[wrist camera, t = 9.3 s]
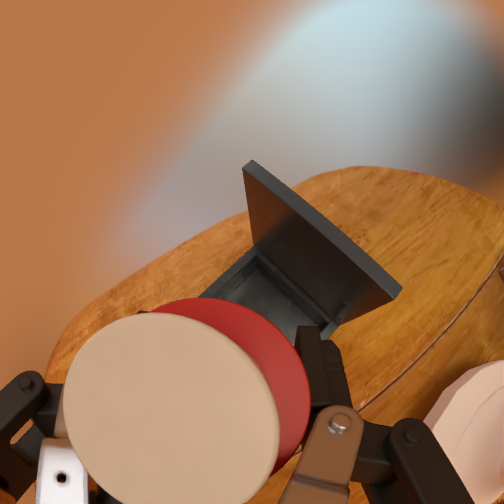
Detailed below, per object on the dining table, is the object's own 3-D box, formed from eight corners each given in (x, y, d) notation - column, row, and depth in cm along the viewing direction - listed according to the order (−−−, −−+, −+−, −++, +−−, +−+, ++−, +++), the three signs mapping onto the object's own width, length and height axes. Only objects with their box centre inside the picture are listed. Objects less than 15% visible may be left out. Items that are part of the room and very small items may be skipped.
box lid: (394, 300, 12) (403, 287, 12) (241, 167, 15) (252, 158, 15) (340, 325, 22) (346, 318, 22) (253, 243, 25) (259, 237, 25)
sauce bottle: (174, 371, 15) (-9, 363, 3) (240, 318, 16) (189, 186, 4) (230, 436, 14) (160, 587, 2) (298, 383, 15) (417, 432, 3)
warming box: (256, 402, 25) (255, 411, 20) (184, 328, 28) (170, 322, 23) (329, 329, 27) (342, 322, 23) (257, 261, 30) (256, 242, 26)
